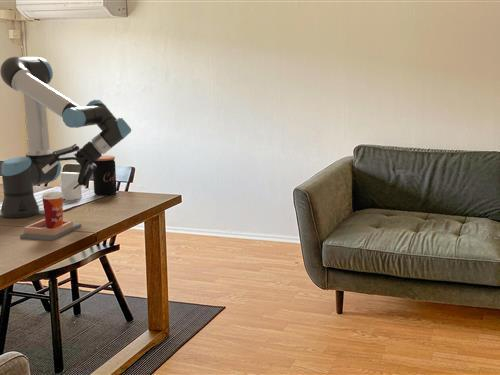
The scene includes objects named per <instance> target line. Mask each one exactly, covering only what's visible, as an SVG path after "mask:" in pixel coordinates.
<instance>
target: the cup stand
mask: <svg viewBox="0 0 500 375" xmlns="http://www.w3.org/2000/svg"><path fill="white" fill-rule="evenodd" d="M81 227H82V223H81V222H74V221H73V220H64V219H63V225H61V226H58V227H56V228H54V229H49V228H47V227H46V220H45V218H44V219H41V220H38V221H36V222H34V223H31V224H29V225H26V226H24V227H23V233H21V234H20V235H19V238H20V239H27V240H28V239H29V240H38V239H39V240H40V241H41V240H42V241H51V242H52V241H54V240H57V239H58V238H60V237H62V236H64V235H66V234H69V233H70V232H72V231H75V230H77V229H79V228H81Z"/></svg>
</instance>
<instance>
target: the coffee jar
mask: <svg viewBox="0 0 500 375" xmlns="http://www.w3.org/2000/svg"><path fill="white" fill-rule="evenodd" d="M115 159H116V156H114V155H102V156H101V157H100V158H99V159H97V160H96V161H94V162H93V163H95V165H96V166H97V168H96V169H95V170H94V172H93V174H92V176H93V178H92V179H93V180H92V181H93V193H94V194H95V195H96V196H97V195H98V197H108V196H109V197H110V196H113V195H116V193H117V177H116V176H117V173H116V161H115Z"/></svg>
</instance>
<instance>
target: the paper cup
mask: <svg viewBox="0 0 500 375" xmlns="http://www.w3.org/2000/svg"><path fill="white" fill-rule="evenodd" d="M41 199H42V206H43V211H44V212H43V213H44V219H45V220H46V227H47V228H49V229H54V228H56V227H58V226H61V225H63V220H64V215H63V214H64V212H63V211H64V207H63V201H64V200H63V195H62V193H61V191H55V190H54V191H46V192H43V193H42V194H41Z"/></svg>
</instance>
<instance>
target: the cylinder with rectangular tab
mask: <svg viewBox="0 0 500 375" xmlns="http://www.w3.org/2000/svg"><path fill="white" fill-rule="evenodd" d="M79 173H80V172H73V171H72V172H69V171H63V172H62V171H61V172H60V188H61V191H60V192H61V193H62V195H63V199H65V200H64V201H75V200H74V199H77V200H80V198H81V199H82V198H83V197H82V196H83V195H82V186H81V185H79V186H78V187H77V188H75V189H72V190H71V191H69V192H68V193H67V194H66V193H65V192H64V191H63V189H65V188H66V187H67V186H68V185H69V184H71V183H72V182H73V181H74V180H77V181H78V177H79Z"/></svg>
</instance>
